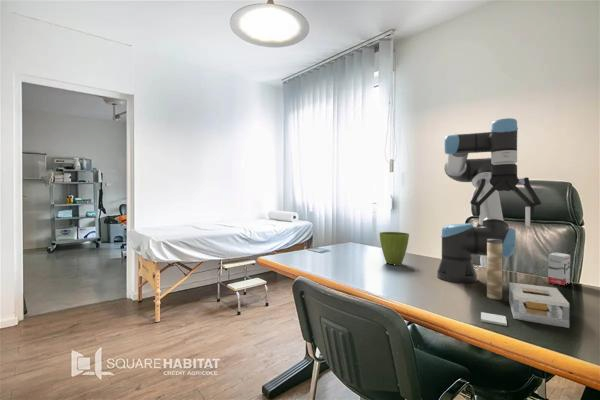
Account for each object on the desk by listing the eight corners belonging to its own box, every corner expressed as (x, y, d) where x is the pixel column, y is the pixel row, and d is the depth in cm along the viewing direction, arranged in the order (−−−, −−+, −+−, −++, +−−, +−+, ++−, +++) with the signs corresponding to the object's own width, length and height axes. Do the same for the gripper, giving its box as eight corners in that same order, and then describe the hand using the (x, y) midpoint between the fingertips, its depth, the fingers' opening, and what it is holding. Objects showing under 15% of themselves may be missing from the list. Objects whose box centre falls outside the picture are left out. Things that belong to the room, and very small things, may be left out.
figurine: (469, 267, 148) (469, 243, 148) (478, 265, 152) (478, 242, 152) (488, 271, 140) (488, 246, 140) (497, 269, 145) (497, 244, 145)
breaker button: (527, 307, 88) (527, 299, 88) (525, 302, 92) (525, 295, 92) (547, 310, 86) (547, 302, 86) (544, 305, 90) (544, 297, 90)
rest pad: (480, 321, 84) (480, 319, 84) (480, 314, 89) (480, 312, 89) (507, 325, 80) (507, 323, 80) (505, 318, 86) (505, 316, 86)
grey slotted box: (513, 318, 85) (513, 295, 85) (509, 301, 99) (509, 282, 99) (569, 328, 79) (569, 303, 79) (556, 308, 93) (556, 287, 93)
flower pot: (388, 259, 167) (388, 231, 167) (414, 263, 156) (414, 233, 156) (373, 263, 157) (373, 233, 157) (400, 268, 146) (400, 235, 146)
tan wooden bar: (487, 298, 103) (487, 240, 103) (486, 294, 107) (487, 238, 107) (502, 300, 101) (502, 240, 101) (501, 296, 104) (501, 239, 104)
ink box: (563, 286, 116) (563, 256, 116) (547, 283, 121) (547, 254, 121) (570, 283, 121) (570, 253, 121) (555, 280, 125) (555, 252, 125)
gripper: (463, 164, 106) (463, 224, 106) (552, 161, 95) (552, 227, 95) (462, 166, 113) (462, 223, 113) (545, 163, 102) (545, 225, 102)
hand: (503, 225), depth 104 cm, fingers open, 13 cm apart
